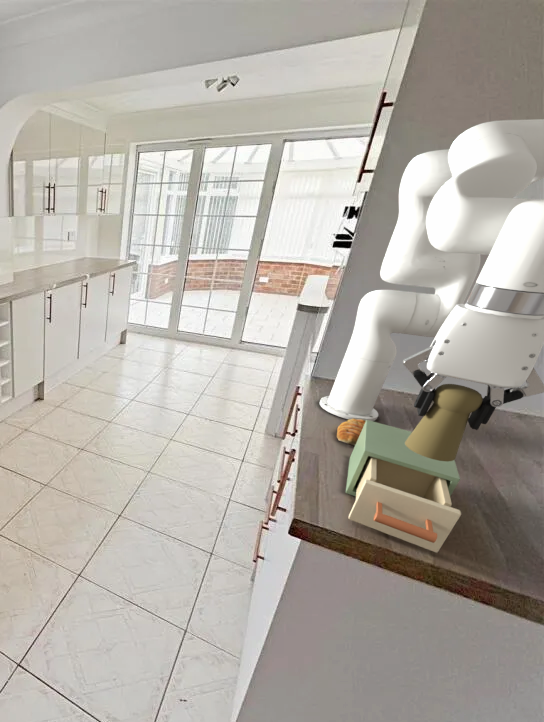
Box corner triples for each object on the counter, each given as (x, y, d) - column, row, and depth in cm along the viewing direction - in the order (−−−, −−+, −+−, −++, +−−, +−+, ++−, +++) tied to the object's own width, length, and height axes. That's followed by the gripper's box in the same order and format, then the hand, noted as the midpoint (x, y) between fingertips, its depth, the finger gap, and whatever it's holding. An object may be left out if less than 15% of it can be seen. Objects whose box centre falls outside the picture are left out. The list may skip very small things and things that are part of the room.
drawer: (440, 573, 60) (466, 533, 56) (346, 535, 66) (364, 497, 63) (429, 506, 73) (449, 471, 70) (352, 480, 79) (367, 446, 76)
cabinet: (433, 524, 70) (460, 479, 66) (345, 492, 77) (364, 450, 73) (426, 482, 81) (449, 441, 77) (349, 458, 88) (366, 419, 84)
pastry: (362, 452, 90) (368, 437, 88) (327, 439, 95) (333, 424, 93) (374, 438, 95) (381, 424, 94) (341, 426, 100) (346, 413, 98)
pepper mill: (402, 435, 68) (432, 375, 64) (451, 448, 65) (485, 386, 61) (406, 452, 64) (438, 388, 59) (459, 466, 61) (496, 400, 56)
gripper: (595, 307, 53) (520, 428, 60) (421, 287, 62) (375, 394, 70) (620, 319, 47) (534, 450, 55) (426, 295, 57) (375, 410, 64)
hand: (446, 418), depth 62 cm, fingers closed on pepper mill, 5 cm apart
